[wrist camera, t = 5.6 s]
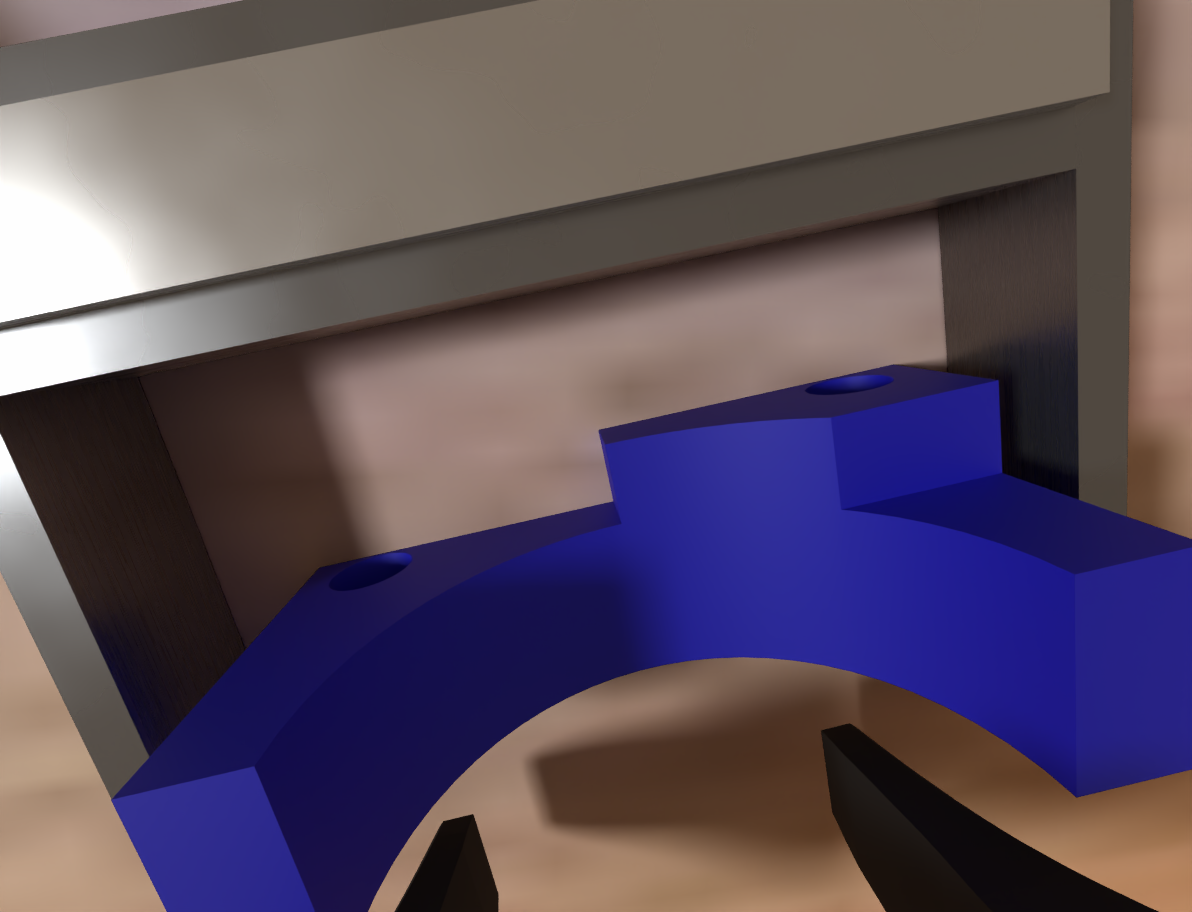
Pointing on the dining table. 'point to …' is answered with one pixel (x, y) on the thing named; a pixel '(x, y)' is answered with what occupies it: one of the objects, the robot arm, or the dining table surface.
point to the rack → (502, 235)
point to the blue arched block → (680, 628)
